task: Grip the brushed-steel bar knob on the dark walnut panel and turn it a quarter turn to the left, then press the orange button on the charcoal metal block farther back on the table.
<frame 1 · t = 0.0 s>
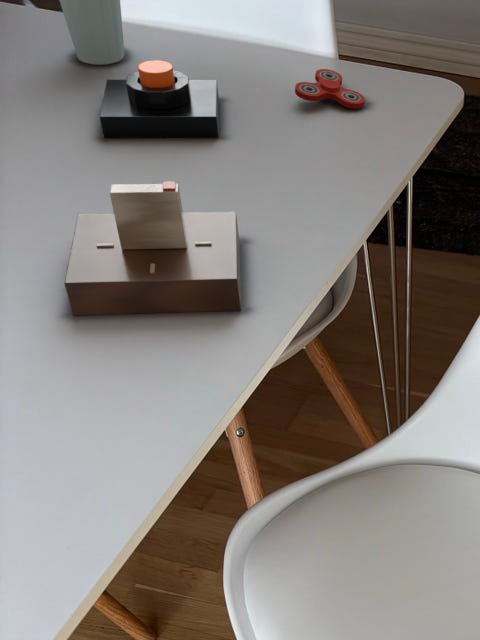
button block: (163, 118, 113), on the table
button: (156, 75, 109), point 4 cm above the table, slide at 0.1 cm
panel: (160, 276, 91), on the table
dial: (149, 215, 87), point 6 cm above the table, hinge at 0.0°
cup: (101, 58, 123), on the table
fidget spinner: (335, 84, 118), point 2 cm above the table
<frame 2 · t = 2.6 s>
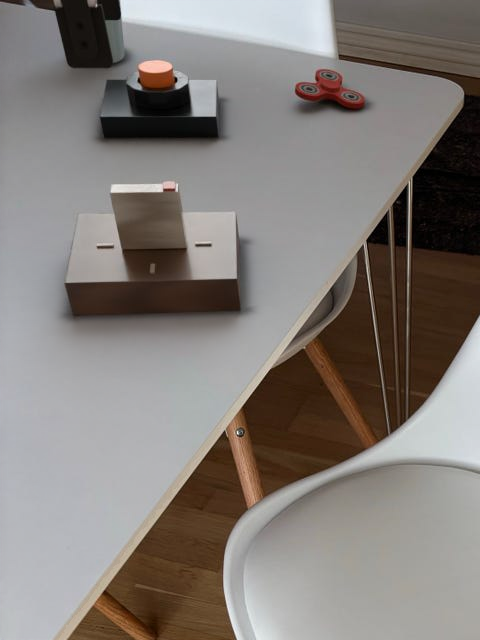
hand: (96, 41, 77), 19 cm above the table, tool pointing down, fingers open, 9 cm apart
nothing on the table moved.
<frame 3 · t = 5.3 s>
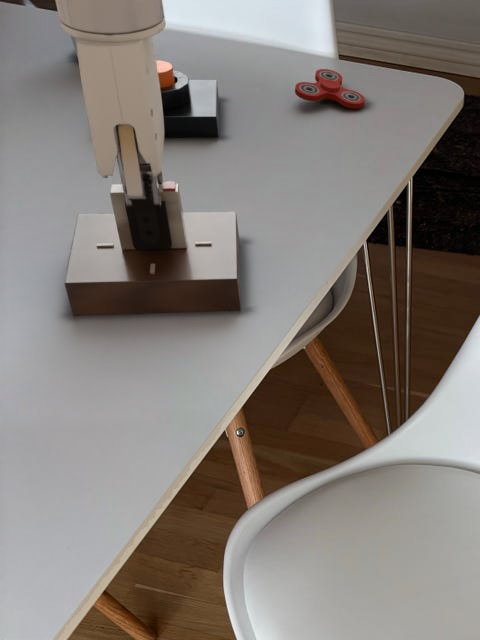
hand: (153, 239, 88), 4 cm above the table, tool pointing down, fingers closed on dial
dial: (149, 215, 87), point 6 cm above the table, hinge at 0.0°, touching gripper
everything else where it was.
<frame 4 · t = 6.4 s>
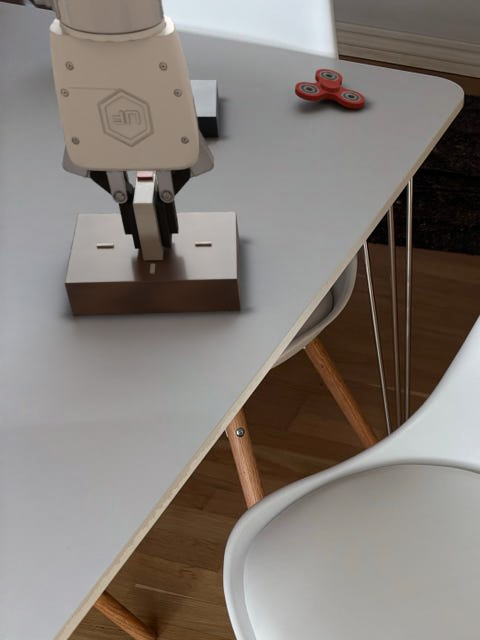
hand: (153, 239, 88), 4 cm above the table, tool pointing down, fingers closed on dial
dial: (149, 215, 87), point 6 cm above the table, hinge at 90.0°, touching gripper
everything else where it was.
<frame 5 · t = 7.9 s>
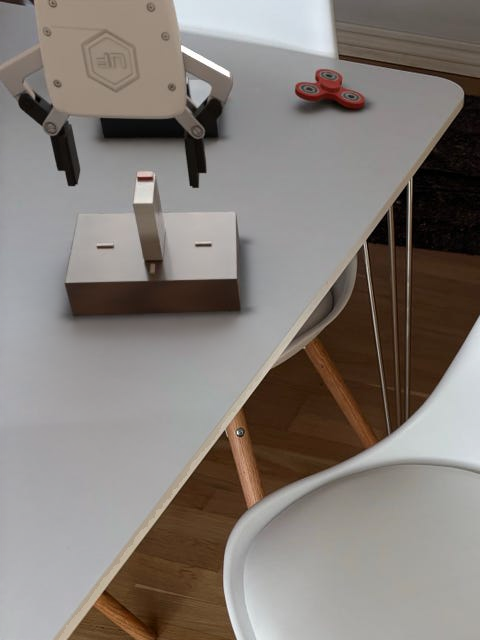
hand: (135, 179, 84), 9 cm above the table, tool pointing down, fingers open, 9 cm apart
dial: (149, 215, 87), point 6 cm above the table, hinge at 90.0°
everything else where it was.
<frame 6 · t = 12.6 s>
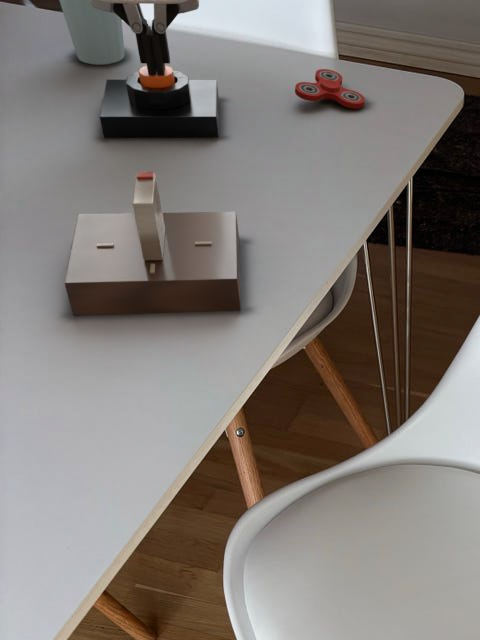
hand: (156, 69, 109), 5 cm above the table, tool pointing down, fingers closed
button: (157, 79, 110), point 4 cm above the table, slide at -0.3 cm, touching gripper
everything else where it was.
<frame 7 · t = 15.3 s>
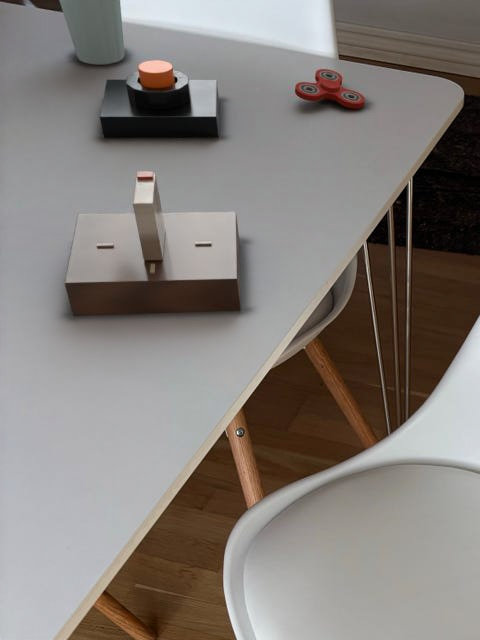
button: (156, 75, 109), point 4 cm above the table, slide at 0.1 cm
everything else where it was.
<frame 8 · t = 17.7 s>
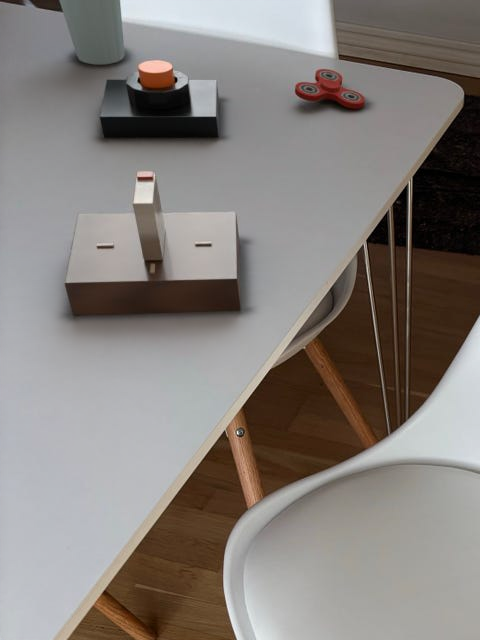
nothing on the table moved.
at the end: dial at +90° (first picture: +0°); button pushed in 1.1 cm at the most during the clip, back to where it started at the end; button slide at 0.1 cm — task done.
